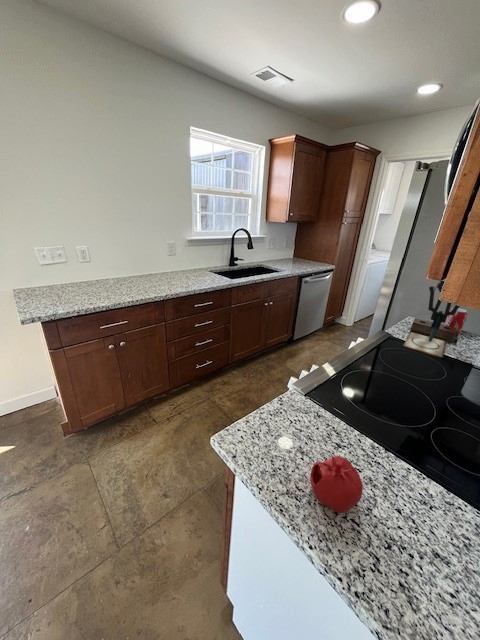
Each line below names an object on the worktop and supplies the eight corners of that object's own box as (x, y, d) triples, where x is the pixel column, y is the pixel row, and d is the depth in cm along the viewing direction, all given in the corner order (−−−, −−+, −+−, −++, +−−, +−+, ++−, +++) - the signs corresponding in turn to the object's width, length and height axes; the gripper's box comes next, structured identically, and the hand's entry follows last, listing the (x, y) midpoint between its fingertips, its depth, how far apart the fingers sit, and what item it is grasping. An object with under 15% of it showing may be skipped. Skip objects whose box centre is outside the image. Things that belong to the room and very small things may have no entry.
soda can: (457, 337, 123) (466, 313, 118) (439, 332, 128) (448, 309, 123) (461, 333, 127) (470, 310, 122) (444, 328, 132) (452, 305, 127)
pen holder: (412, 327, 132) (415, 317, 130) (453, 337, 123) (456, 327, 121) (409, 331, 127) (412, 322, 125) (452, 343, 118) (456, 333, 116)
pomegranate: (366, 494, 55) (377, 463, 51) (343, 531, 48) (354, 499, 45) (323, 462, 61) (330, 432, 57) (298, 491, 55) (304, 460, 51)
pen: (431, 341, 112) (443, 310, 107) (431, 342, 112) (443, 311, 106) (428, 340, 113) (439, 310, 108) (427, 341, 112) (439, 310, 107)
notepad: (445, 342, 118) (446, 341, 118) (442, 358, 105) (442, 357, 105) (409, 332, 126) (410, 331, 126) (402, 346, 113) (403, 345, 113)
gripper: (432, 270, 101) (413, 325, 111) (480, 277, 93) (455, 336, 103) (434, 267, 107) (416, 320, 117) (479, 273, 99) (456, 330, 108)
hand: (434, 327), depth 110 cm, fingers closed on pen
